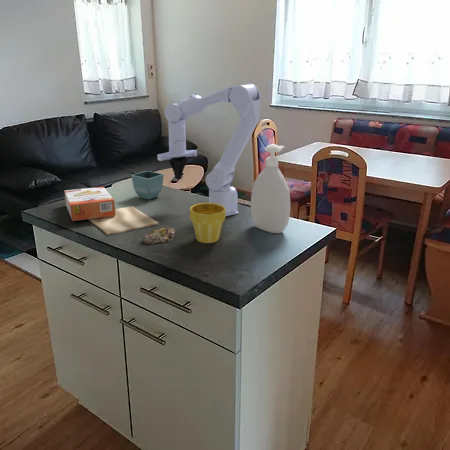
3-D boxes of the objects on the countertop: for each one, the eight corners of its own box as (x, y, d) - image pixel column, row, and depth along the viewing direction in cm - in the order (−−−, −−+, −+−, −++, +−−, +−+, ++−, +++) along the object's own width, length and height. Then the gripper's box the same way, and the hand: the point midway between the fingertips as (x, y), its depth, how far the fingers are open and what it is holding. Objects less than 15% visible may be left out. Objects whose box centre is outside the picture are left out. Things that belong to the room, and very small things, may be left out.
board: (132, 207, 162) (131, 206, 162) (158, 224, 147) (158, 222, 147) (85, 216, 153) (84, 215, 153) (107, 235, 138) (107, 233, 137)
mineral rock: (163, 224, 142) (178, 224, 136) (166, 237, 142) (181, 238, 136) (133, 233, 135) (147, 234, 129) (137, 247, 136) (151, 248, 130)
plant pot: (213, 248, 129) (214, 216, 126) (183, 241, 134) (182, 210, 131) (231, 237, 138) (231, 206, 134) (202, 230, 143) (202, 200, 139)
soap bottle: (296, 231, 142) (303, 145, 133) (281, 238, 137) (286, 149, 127) (260, 220, 152) (263, 138, 142) (244, 226, 146) (247, 142, 137)
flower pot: (165, 196, 175) (164, 173, 172) (149, 202, 168) (148, 178, 165) (147, 192, 180) (146, 170, 176) (132, 198, 173) (130, 175, 169)
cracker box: (70, 203, 144) (63, 189, 162) (72, 221, 145) (65, 206, 164) (114, 198, 149) (103, 185, 167) (116, 216, 151) (105, 201, 169)
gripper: (189, 136, 162) (190, 173, 167) (152, 139, 154) (154, 178, 159) (200, 139, 157) (200, 177, 162) (162, 143, 149) (164, 183, 154)
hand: (178, 178), depth 160 cm, fingers closed
